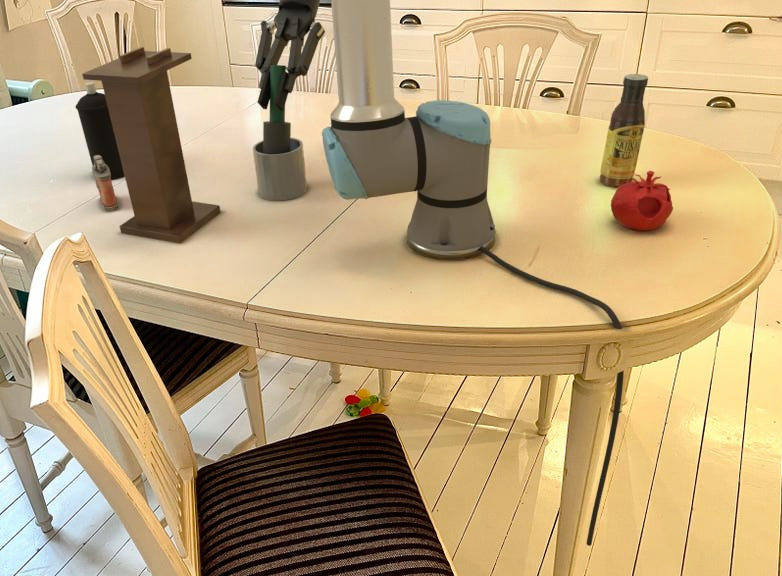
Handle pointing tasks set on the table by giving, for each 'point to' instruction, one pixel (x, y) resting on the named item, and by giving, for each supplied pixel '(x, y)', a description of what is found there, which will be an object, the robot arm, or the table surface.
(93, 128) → the aerosol can
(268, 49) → the robot arm
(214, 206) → the stand
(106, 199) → the lighter
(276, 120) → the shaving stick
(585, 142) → the table surface
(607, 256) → the table surface
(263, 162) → the steel cup
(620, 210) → the red hollow tomato
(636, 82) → the sauce bottle
